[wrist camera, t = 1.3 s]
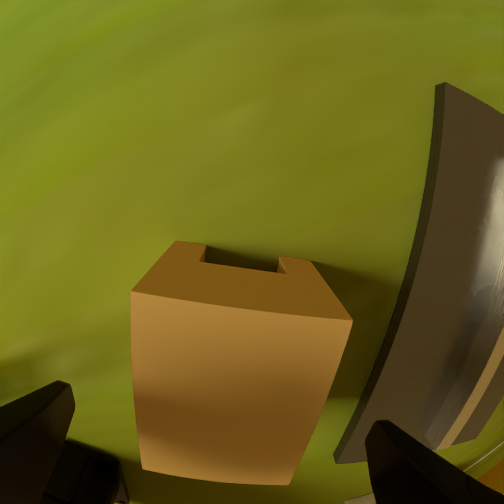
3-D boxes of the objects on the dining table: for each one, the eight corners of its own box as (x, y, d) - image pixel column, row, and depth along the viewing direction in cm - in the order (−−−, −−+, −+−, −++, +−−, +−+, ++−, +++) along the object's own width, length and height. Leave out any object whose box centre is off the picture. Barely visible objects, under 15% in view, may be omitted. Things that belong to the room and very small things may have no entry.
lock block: (275, 398, 14) (288, 485, 9) (167, 385, 13) (142, 469, 8) (309, 259, 12) (353, 320, 7) (175, 240, 12) (131, 291, 7)
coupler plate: (471, 432, 16) (485, 451, 14) (332, 454, 15) (341, 484, 13) (563, 165, 11) (589, 169, 9) (435, 85, 10) (467, 74, 8)
